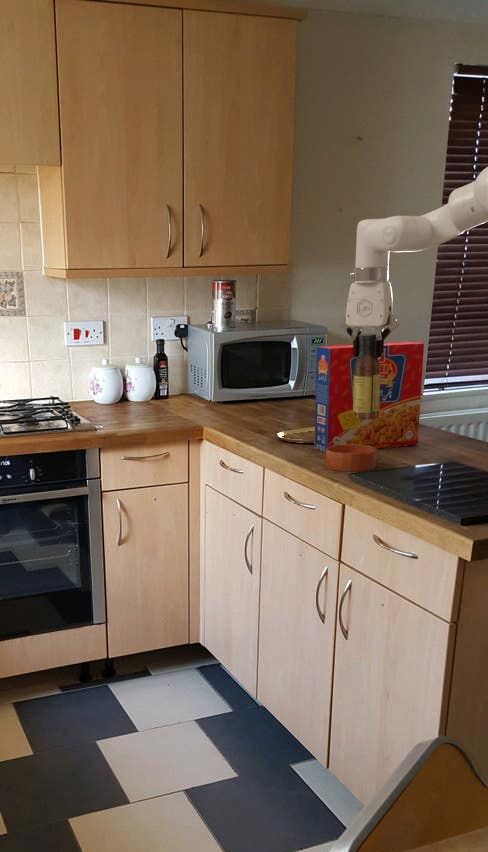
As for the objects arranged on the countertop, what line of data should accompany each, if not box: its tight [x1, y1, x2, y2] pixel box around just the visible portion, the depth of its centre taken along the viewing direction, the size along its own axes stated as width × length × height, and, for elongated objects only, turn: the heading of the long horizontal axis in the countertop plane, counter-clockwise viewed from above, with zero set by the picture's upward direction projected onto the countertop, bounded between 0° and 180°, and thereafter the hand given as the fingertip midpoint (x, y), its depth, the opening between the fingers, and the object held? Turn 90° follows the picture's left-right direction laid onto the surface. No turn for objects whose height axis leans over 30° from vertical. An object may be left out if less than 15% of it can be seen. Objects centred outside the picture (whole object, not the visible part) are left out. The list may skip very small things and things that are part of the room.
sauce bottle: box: [353, 333, 380, 419], centre depth 210 cm, size 7×6×20 cm
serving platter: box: [276, 426, 315, 443], centre depth 265 cm, size 19×35×2 cm, turn 120°
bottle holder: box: [324, 444, 378, 472], centre depth 222 cm, size 13×13×4 cm
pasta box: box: [313, 341, 425, 452], centre depth 242 cm, size 28×8×28 cm, turn 106°
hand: (367, 356), depth 209 cm, fingers closed on sauce bottle, 4 cm apart
